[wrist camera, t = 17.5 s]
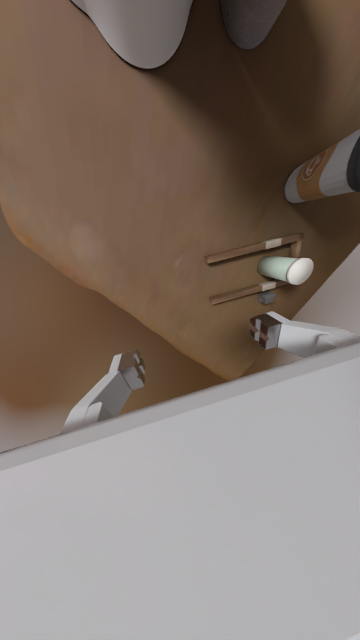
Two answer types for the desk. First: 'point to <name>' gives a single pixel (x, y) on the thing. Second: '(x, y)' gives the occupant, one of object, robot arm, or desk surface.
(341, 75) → the desk surface
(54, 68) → the desk surface
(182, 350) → the desk surface
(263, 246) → the beam slot
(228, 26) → the pillar candle
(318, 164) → the coffee cup
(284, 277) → the mint green tumbler
